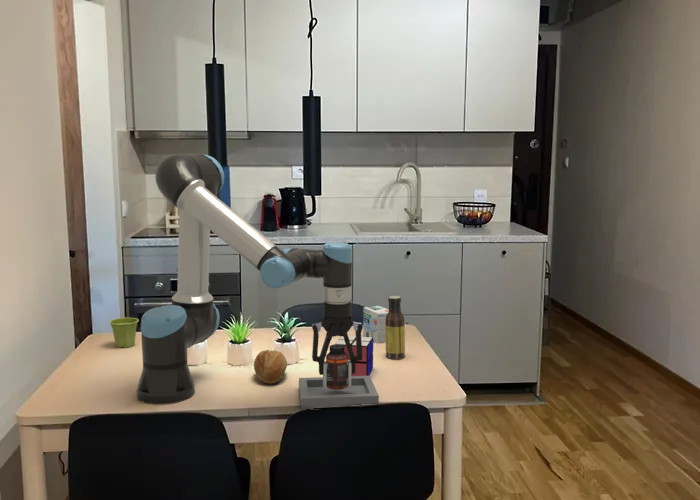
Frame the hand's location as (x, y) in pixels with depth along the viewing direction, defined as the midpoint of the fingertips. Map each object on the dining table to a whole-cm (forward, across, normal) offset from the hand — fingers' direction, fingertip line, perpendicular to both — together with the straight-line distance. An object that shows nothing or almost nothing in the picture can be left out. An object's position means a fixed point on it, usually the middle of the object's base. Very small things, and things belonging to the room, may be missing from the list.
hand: (337, 385), depth 181 cm
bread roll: (+4, -18, +18) cm, 25 cm away
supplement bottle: (+1, 0, 0) cm, 1 cm away
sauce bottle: (+3, +22, +34) cm, 41 cm away
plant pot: (+4, -67, +56) cm, 87 cm away
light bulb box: (+4, +20, +56) cm, 60 cm away
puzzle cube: (+4, +7, +20) cm, 22 cm away
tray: (+3, 0, 0) cm, 3 cm away
